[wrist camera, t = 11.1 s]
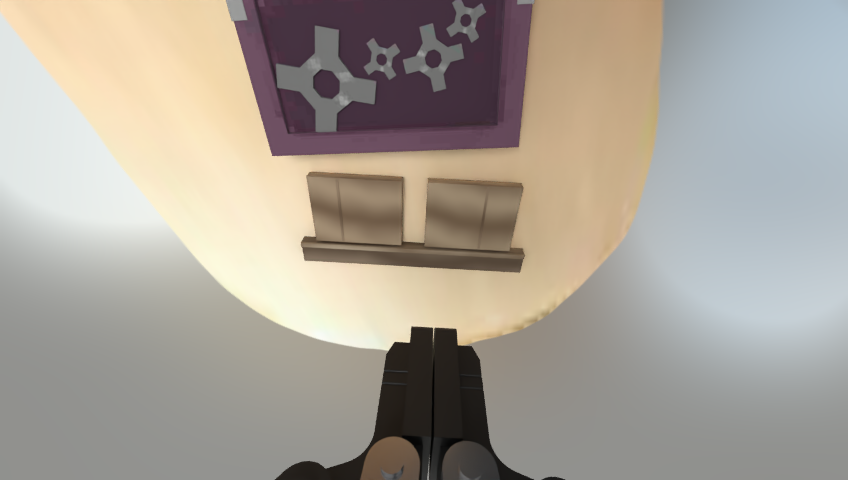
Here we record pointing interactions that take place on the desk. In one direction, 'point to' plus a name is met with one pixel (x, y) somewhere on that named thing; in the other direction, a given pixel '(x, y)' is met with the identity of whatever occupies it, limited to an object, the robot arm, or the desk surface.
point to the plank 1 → (356, 208)
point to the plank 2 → (471, 214)
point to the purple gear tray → (386, 73)
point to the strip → (412, 255)
